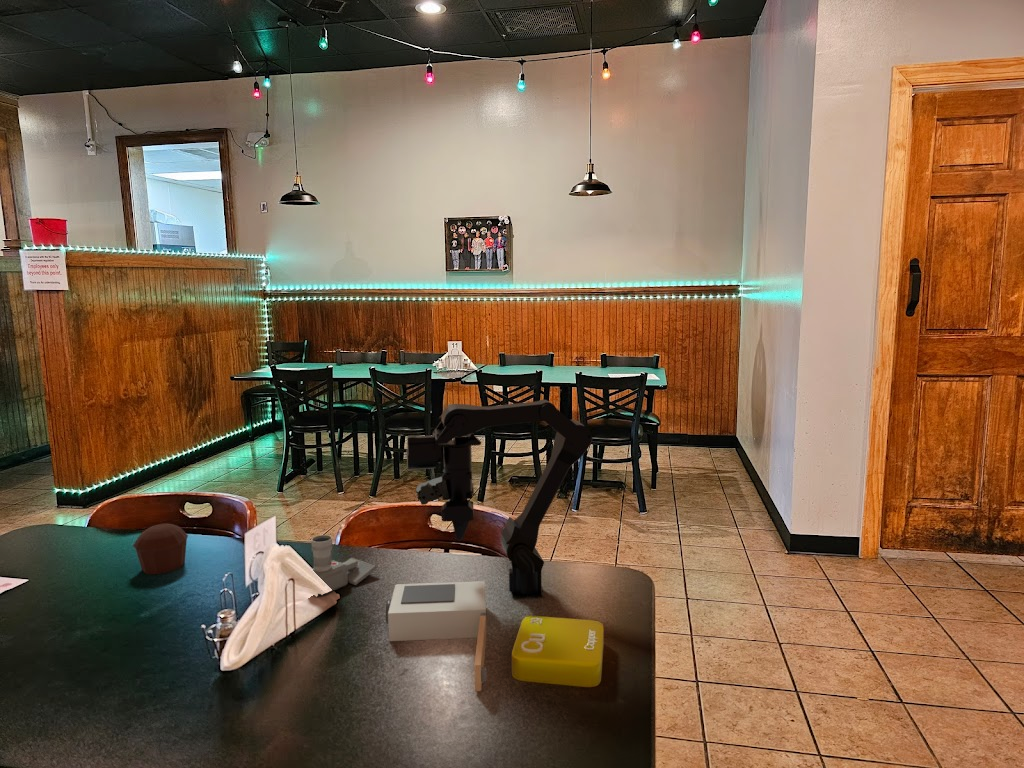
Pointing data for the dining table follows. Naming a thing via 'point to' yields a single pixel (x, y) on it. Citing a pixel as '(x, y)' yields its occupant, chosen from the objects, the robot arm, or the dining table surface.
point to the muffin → (161, 548)
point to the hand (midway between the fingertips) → (459, 539)
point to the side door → (480, 654)
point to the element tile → (559, 651)
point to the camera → (337, 565)
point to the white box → (435, 610)
